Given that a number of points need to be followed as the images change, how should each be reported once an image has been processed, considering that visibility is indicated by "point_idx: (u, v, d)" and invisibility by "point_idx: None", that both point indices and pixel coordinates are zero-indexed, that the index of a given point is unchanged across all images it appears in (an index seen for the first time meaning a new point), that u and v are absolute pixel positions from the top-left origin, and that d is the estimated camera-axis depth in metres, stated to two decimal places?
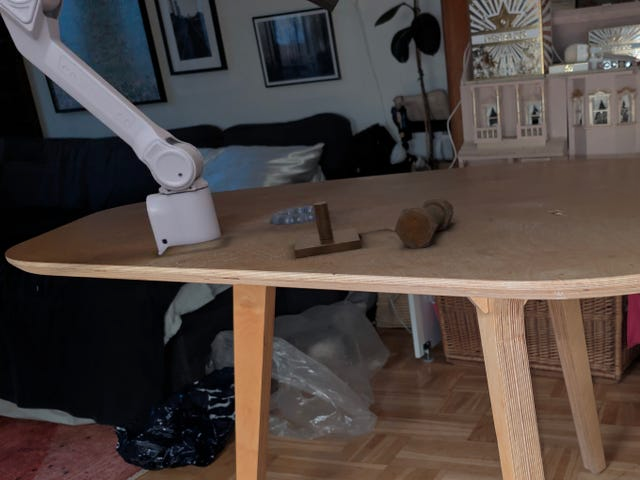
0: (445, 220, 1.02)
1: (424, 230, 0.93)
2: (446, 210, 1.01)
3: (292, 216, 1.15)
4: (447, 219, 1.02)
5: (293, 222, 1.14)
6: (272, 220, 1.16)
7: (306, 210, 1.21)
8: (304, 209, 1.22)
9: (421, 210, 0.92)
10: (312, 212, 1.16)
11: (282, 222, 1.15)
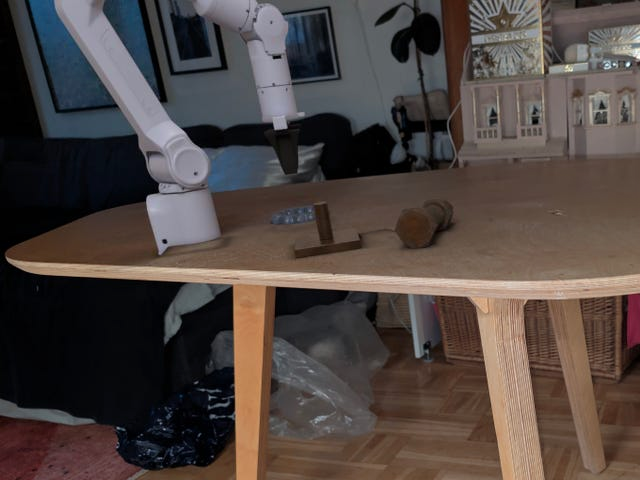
0: (445, 220, 1.02)
1: (424, 229, 0.93)
2: (446, 210, 1.01)
3: (292, 216, 1.15)
4: (447, 219, 1.02)
5: (293, 222, 1.14)
6: (272, 220, 1.16)
7: (306, 210, 1.21)
8: (304, 209, 1.22)
9: (421, 210, 0.92)
10: (312, 212, 1.16)
11: (282, 222, 1.15)
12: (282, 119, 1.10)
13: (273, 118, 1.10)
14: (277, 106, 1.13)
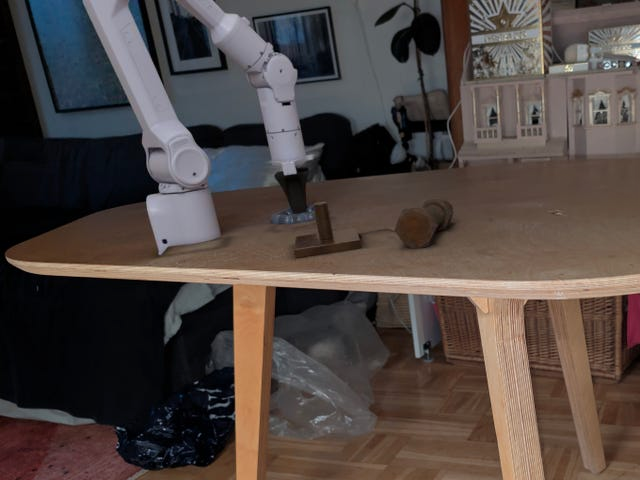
0: (445, 220, 1.02)
1: (424, 230, 0.93)
2: (446, 210, 1.01)
3: (292, 216, 1.15)
4: (447, 219, 1.02)
5: (293, 222, 1.14)
6: (272, 220, 1.16)
7: (306, 210, 1.21)
8: None
9: (421, 210, 0.92)
10: (312, 212, 1.16)
11: (282, 222, 1.15)
12: (291, 165, 1.13)
13: (283, 164, 1.12)
14: (286, 150, 1.16)
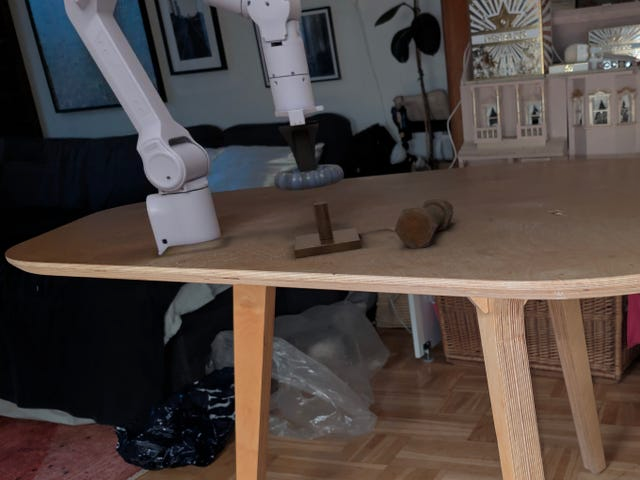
0: (445, 220, 1.02)
1: (424, 230, 0.93)
2: (446, 210, 1.01)
3: (300, 174, 0.98)
4: (447, 219, 1.02)
5: (301, 181, 0.98)
6: (277, 179, 1.00)
7: (316, 170, 1.05)
8: None
9: (421, 210, 0.92)
10: (323, 170, 0.99)
11: (289, 181, 0.98)
12: (299, 113, 0.96)
13: (289, 112, 0.96)
14: (293, 98, 0.99)
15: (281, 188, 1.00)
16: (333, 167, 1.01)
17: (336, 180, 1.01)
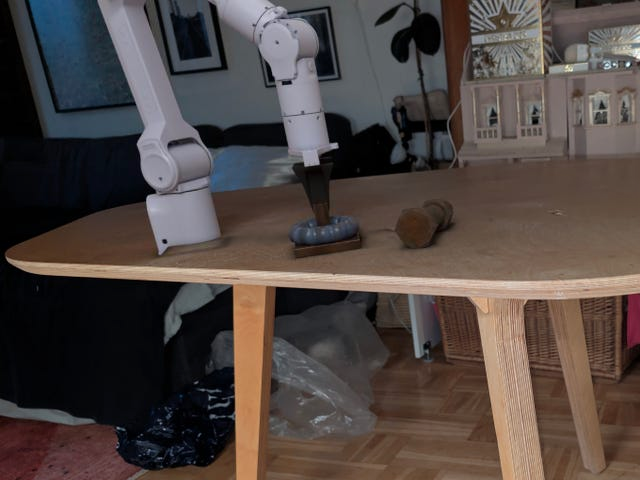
0: (445, 220, 1.02)
1: (424, 230, 0.93)
2: (446, 210, 1.01)
3: (315, 229, 0.96)
4: (447, 219, 1.02)
5: (316, 236, 0.96)
6: (291, 233, 0.98)
7: (331, 221, 1.03)
8: None
9: (421, 210, 0.92)
10: (338, 224, 0.97)
11: (303, 236, 0.96)
12: (314, 154, 0.93)
13: (303, 153, 0.93)
14: (307, 137, 0.96)
15: (295, 242, 0.98)
16: (348, 220, 0.99)
17: (351, 234, 0.98)
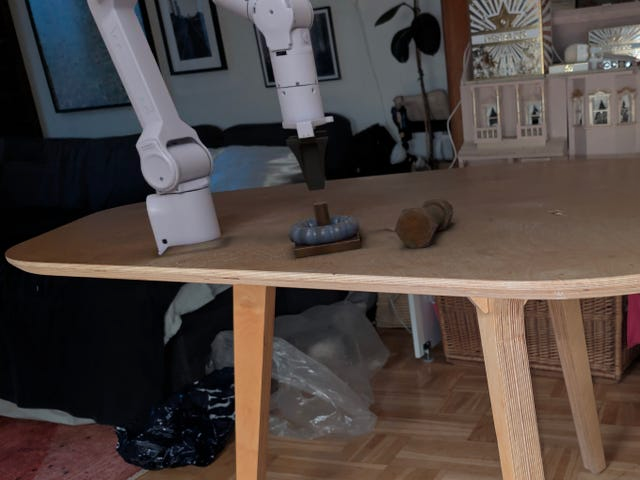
0: (445, 220, 1.02)
1: (424, 229, 0.93)
2: (446, 210, 1.01)
3: (315, 229, 0.96)
4: (447, 219, 1.02)
5: (316, 236, 0.96)
6: (291, 233, 0.98)
7: (331, 221, 1.03)
8: None
9: (421, 210, 0.92)
10: (338, 224, 0.97)
11: (303, 236, 0.96)
12: (308, 125, 0.92)
13: (297, 124, 0.92)
14: (302, 109, 0.95)
15: (295, 242, 0.98)
16: (348, 220, 0.99)
17: (351, 234, 0.98)
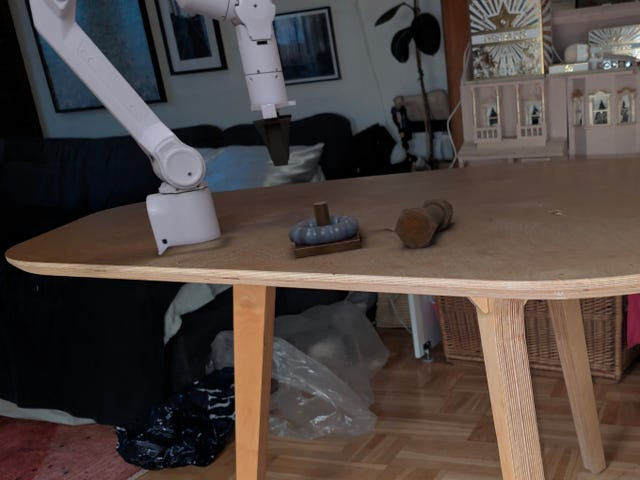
0: (445, 220, 1.02)
1: (424, 230, 0.93)
2: (446, 210, 1.01)
3: (315, 229, 0.96)
4: (447, 219, 1.02)
5: (316, 236, 0.96)
6: (291, 233, 0.98)
7: (331, 221, 1.03)
8: None
9: (421, 210, 0.92)
10: (338, 224, 0.97)
11: (303, 236, 0.96)
12: (271, 107, 1.05)
13: (262, 106, 1.04)
14: (267, 93, 1.08)
15: (295, 242, 0.98)
16: (348, 220, 0.99)
17: (351, 234, 0.98)
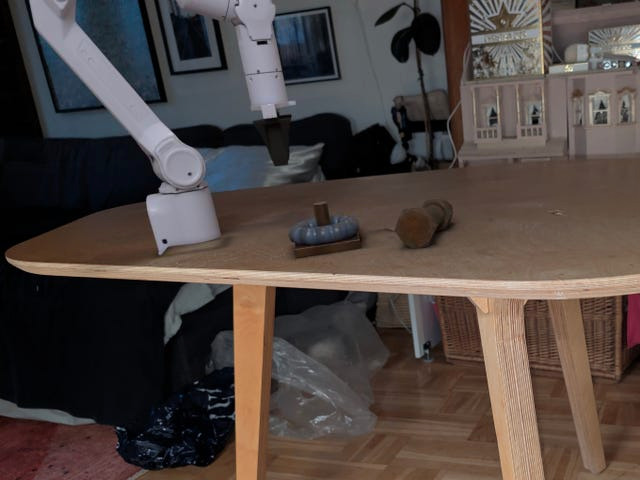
0: (445, 220, 1.02)
1: (424, 230, 0.93)
2: (446, 210, 1.01)
3: (315, 229, 0.96)
4: (447, 219, 1.02)
5: (316, 236, 0.96)
6: (291, 233, 0.98)
7: (331, 221, 1.03)
8: None
9: (421, 210, 0.92)
10: (338, 224, 0.97)
11: (303, 236, 0.96)
12: (271, 107, 1.05)
13: (262, 106, 1.04)
14: (267, 93, 1.08)
15: (295, 242, 0.98)
16: (348, 220, 0.99)
17: (351, 234, 0.98)
